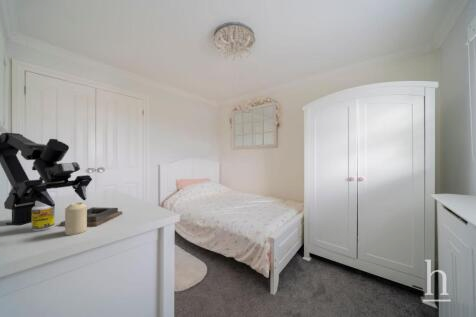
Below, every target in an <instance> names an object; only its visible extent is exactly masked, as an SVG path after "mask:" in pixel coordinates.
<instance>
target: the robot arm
mask: <svg viewBox="0 0 476 317" xmlns="http://www.w3.org/2000/svg"><path fill="white" fill-rule="evenodd" d="M69 149H70V146H69V145H68V144H66V143H64V142H63V141H59V140H58V139H57V138H49V140H48V142H47V143H46V144H43V143H37V142H35V141H33V140H31V139H30V138H27V137H25V136H24V135H23V134H21V133H16V132H2V133H0V166H1V168H2V170H3V172H4V173H5V175H6V177H7V180H8V182H9V183H10V186H11V189H10V191H9V193H8V196H7V198H6V199H5V201H4V202H3V204H4V209H5V210H11V221H10V222H6V223H5V224H6V225H17V226H18V225H19V226H20V225H26V224H30V223H32V208H33V207H34V206H35V201H39V202H42V203H44V204H46V205H48V206H51V207H54V206H56V204H55V201H54V199H53V198H52V196H51V195H50V193H49V192H48V190H50V189H61V188H67V187H72V189H74V192H75V194H77V196H78V197H79V198H80V199H81V200H83V201H86V200H87V191H86V190H87V189H86V188H87V187H88V186H89V184H90V183H91V182H92V181H93V178H92V176H91V175H89V174H88V175H87V174H86V175H78V176H76V178H74V180H72V179H71V177H72V175H71V174H73V173H75V172H78V171H80V170H81V167H80V164H79V163H78V162H64V163H62V162H61V161H62V160H63V159H64V157H65V155H66V154H67V152H68V151H69ZM19 151H20V156H22V158H23V159H24V160H26V161H33V163H32V167H31V170H32V171H37V173H38V175H39V178H37V179H30V178H29V177H28V175H27V173H26V171H25V169H24V167H23V165H22V164H21V161H20V160H19V158H18V153H19ZM59 162H61V163H59ZM69 179H71V180H69Z"/></svg>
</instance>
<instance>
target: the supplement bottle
mask: <svg viewBox="0 0 476 317" xmlns="http://www.w3.org/2000/svg"><path fill="white" fill-rule="evenodd" d="M55 206H56V205H55ZM55 206H54V207H51V206H48V205H46V204H44V203H42V202H39V201H35V206H34V207H33V208H32V222H31V230H32V231H34V232H40V231H45V230H49V229H52V228H53V227H54V226H55V213H56V212H55Z"/></svg>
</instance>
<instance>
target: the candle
mask: <svg viewBox="0 0 476 317" xmlns="http://www.w3.org/2000/svg"><path fill="white" fill-rule="evenodd" d="M87 207H88V206H87V205H86V204H84V202H76V203H75V202H73V203H70V205H68V206H67V207H66V208H64V211H65V212H64V215H65V216H64V221H65V226H64V230H65V231H64V234H65V235H66V236H74V235H78V234H82V233H85V232H86V231H87V228H88V226H87V209H88V208H87Z"/></svg>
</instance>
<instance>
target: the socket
mask: <svg viewBox="0 0 476 317" xmlns="http://www.w3.org/2000/svg"><path fill="white" fill-rule="evenodd" d="M122 215H123V211H119V208H118V207H89V208H87V227H98V226H101V225H102V224H105V223H107V222H109V221H110V220H113V219H116V218H117V217H119V216H122ZM60 226H61V227H62V226H64V227H65V220H64V221H61V222H60Z"/></svg>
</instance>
